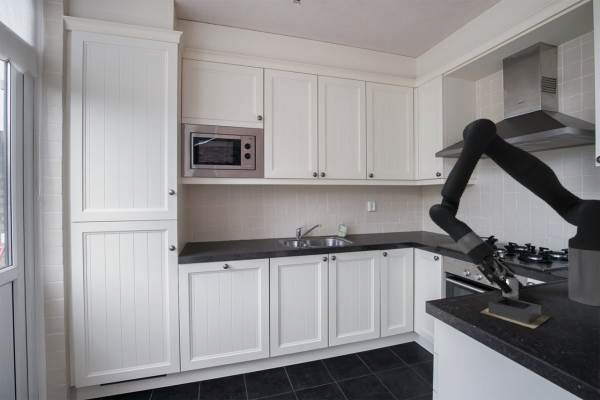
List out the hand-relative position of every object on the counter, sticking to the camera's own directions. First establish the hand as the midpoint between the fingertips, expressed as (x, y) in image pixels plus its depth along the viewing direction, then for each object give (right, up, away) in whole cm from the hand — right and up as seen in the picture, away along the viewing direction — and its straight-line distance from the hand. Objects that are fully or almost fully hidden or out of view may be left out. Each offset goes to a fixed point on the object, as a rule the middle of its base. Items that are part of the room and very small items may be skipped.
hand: (515, 290), depth 85 cm
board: (-8, -5, -10) cm, 13 cm away
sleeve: (-8, -4, -10) cm, 13 cm away
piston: (-1, -5, +1) cm, 5 cm away
